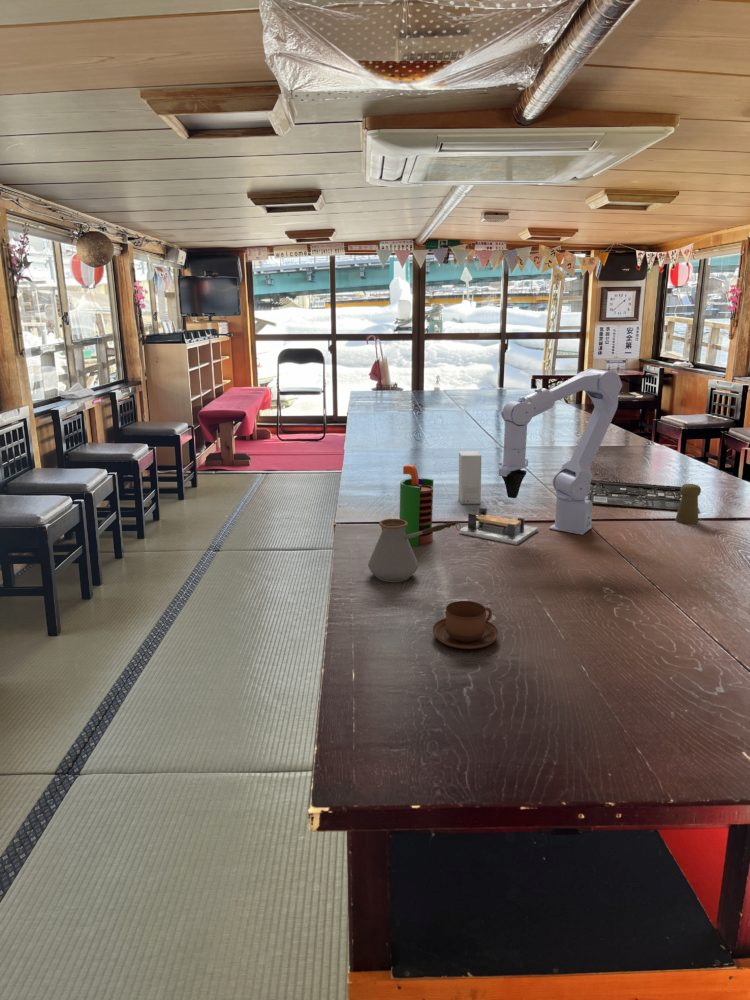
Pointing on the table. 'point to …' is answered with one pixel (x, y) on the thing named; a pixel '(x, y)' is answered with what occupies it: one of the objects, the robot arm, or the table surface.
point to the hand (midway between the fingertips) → (512, 497)
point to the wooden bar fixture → (497, 530)
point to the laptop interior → (635, 495)
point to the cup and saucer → (466, 626)
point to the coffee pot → (397, 551)
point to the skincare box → (470, 477)
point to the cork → (688, 504)
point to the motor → (416, 505)
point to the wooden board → (496, 520)
